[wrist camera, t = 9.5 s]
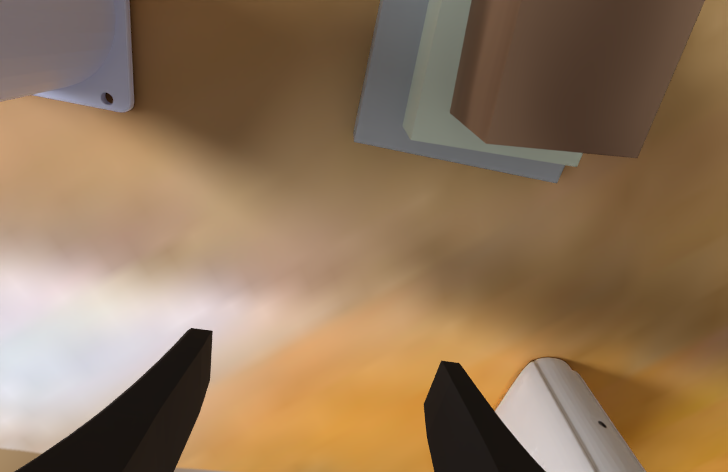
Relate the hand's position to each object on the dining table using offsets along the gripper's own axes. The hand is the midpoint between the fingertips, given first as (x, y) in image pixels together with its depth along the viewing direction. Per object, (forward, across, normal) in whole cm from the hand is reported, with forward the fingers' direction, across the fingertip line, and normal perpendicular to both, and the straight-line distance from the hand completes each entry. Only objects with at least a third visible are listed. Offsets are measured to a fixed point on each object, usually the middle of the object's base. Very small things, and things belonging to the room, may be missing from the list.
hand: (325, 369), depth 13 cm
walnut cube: (+6, -5, -10) cm, 13 cm away
